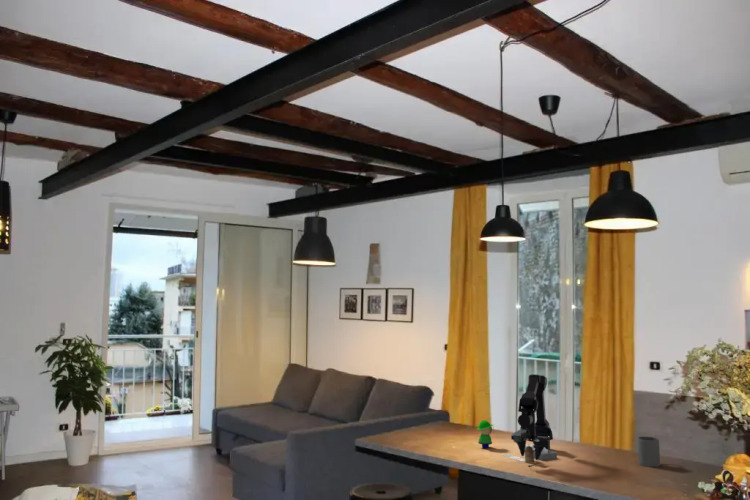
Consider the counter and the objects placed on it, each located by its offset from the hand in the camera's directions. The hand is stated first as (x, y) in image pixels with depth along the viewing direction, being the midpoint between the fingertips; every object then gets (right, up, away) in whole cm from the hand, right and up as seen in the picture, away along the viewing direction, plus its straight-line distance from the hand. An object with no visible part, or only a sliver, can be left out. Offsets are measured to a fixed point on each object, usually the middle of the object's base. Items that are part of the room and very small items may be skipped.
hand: (529, 458), depth 291 cm
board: (+2, -4, +10) cm, 11 cm away
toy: (-15, -6, +31) cm, 35 cm away
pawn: (0, -2, 0) cm, 2 cm away
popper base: (+8, -3, +9) cm, 12 cm away
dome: (+8, -3, +9) cm, 12 cm away
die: (+4, -4, +18) cm, 19 cm away
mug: (+57, -3, +1) cm, 57 cm away
